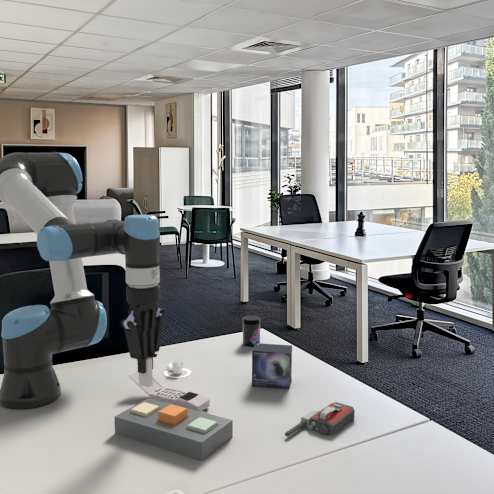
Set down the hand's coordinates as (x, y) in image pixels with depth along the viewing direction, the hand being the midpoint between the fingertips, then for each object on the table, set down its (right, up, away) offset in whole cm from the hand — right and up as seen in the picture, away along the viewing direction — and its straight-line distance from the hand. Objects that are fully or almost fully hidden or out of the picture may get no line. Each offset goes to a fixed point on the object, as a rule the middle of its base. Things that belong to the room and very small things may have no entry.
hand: (146, 384), depth 136 cm
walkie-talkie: (+41, -11, +2) cm, 42 cm away
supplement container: (+25, -1, +62) cm, 67 cm away
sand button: (0, -10, +2) cm, 10 cm away
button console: (+7, -11, -2) cm, 13 cm away
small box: (+30, -6, +28) cm, 42 cm away
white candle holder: (+5, -5, +38) cm, 39 cm away
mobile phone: (+4, -8, +16) cm, 18 cm away
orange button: (+7, -9, -2) cm, 12 cm away
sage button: (+13, -11, -6) cm, 19 cm away
